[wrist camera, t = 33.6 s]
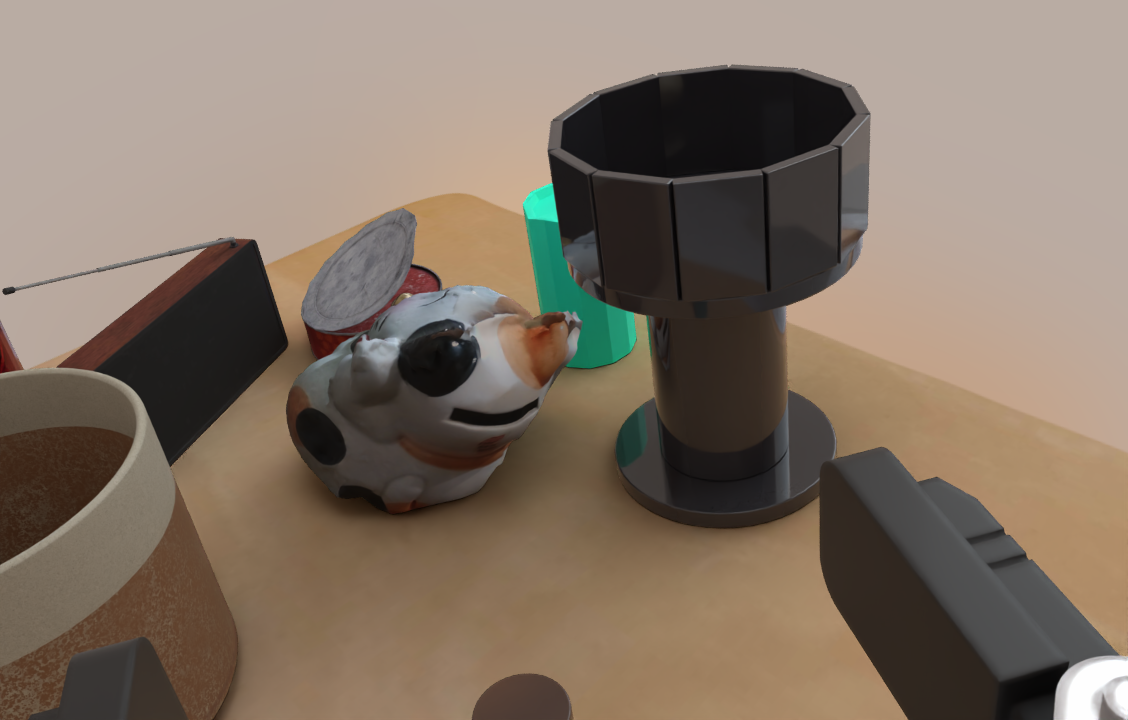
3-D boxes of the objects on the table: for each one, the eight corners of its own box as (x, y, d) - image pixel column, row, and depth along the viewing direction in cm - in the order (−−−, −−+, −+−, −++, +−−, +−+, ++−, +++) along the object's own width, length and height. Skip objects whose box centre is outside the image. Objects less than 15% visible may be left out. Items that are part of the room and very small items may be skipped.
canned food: (440, 409, 75) (404, 338, 66) (305, 394, 76) (254, 323, 68) (475, 274, 80) (446, 192, 71) (348, 263, 82) (305, 181, 73)
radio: (253, 342, 77) (186, 145, 69) (289, 345, 76) (225, 145, 68) (78, 511, 62) (-32, 287, 54) (119, 517, 61) (13, 290, 53)
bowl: (892, 412, 60) (907, 73, 50) (799, 576, 51) (793, 199, 40) (668, 363, 67) (639, 59, 57) (549, 499, 58) (488, 162, 47)
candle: (549, 324, 73) (522, 160, 67) (636, 316, 73) (617, 151, 66) (543, 372, 68) (514, 200, 62) (636, 364, 68) (617, 190, 61)
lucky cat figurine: (485, 357, 71) (551, 197, 61) (560, 506, 64) (646, 353, 55) (259, 385, 63) (293, 206, 53) (317, 557, 57) (369, 389, 47)
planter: (-149, 716, 51) (-313, 494, 44) (161, 541, 59) (67, 329, 52) (-60, 949, 40) (-257, 707, 33) (304, 696, 48) (211, 456, 41)
